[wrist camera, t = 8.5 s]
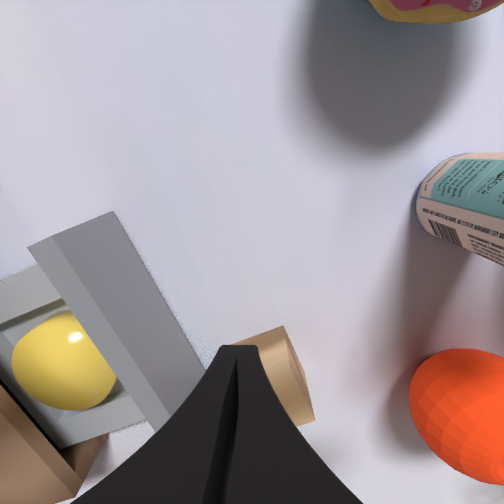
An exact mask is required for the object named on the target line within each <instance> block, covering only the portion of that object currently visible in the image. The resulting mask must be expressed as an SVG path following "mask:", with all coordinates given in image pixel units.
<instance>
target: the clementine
mask: <svg viewBox="0 0 504 504" xmlns="http://www.w3.org/2000/svg"><path fill="white" fill-rule="evenodd" d="M409 402H410V411H411V415H412V418H413V420H414V422H415V425H416V427H417V429H418V431H419V433H420V435H421V437H422V438H423V440H424V441H425V442H426V443H427V445H428V446H429V447H430V449H431V450H432V451H433V452H434V453H435V454H436V455H437V456H438V457H439V458H441V459H442V460H443V461H444V462H446V463H447V464H448V465H449V466H451V467H452V468H453V469H455V470H457V471H459V472H461V473H463V474H465V475H467V476H469V477H471V478H474V479H476V480H478V481H480V482H485V483H489V484H497V485H504V358H502V357H500V356H498V355H494V354H491V353H488V352H485V351H481V350H477V349H450V350H445V351H441V352H439V353H436V354H434V355H432V356H431V357H429V358H428V359H426V360H425V361H424V362H423V363H422V364H421V365H420V366H419V367H418V368H417V370H416V372H415V374H414V376H413V378H412V381H411V384H410V389H409Z"/></svg>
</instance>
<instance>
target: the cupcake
mask: <svg viewBox="0 0 504 504" xmlns="http://www.w3.org/2000/svg"><path fill="white" fill-rule="evenodd" d="M368 1H369V2H370V3H371V4H372V6H373V7H374V8H375V10H376V11H377V12H378V13H379V14H380V15H381V16H382V17H383V18H385V19H387V20H389V21H393V22H410V23H420V24H441V23H453V22H459V21H463V20H467V19H470V18H473V17H476V16H479V15H481V14H483V13H486V12H488V11H490V10H492V9H493V8H495V7H497V6H499V5H501V4H502V3H504V0H368Z"/></svg>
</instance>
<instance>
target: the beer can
mask: <svg viewBox="0 0 504 504" xmlns="http://www.w3.org/2000/svg"><path fill="white" fill-rule="evenodd" d="M416 212H417V216H418V219H419V221H420V223H421V225H422V226H423V228H424V229H425V230H426V231H427V232H428V233H430V234H431V235H433V236H435V237H437V238H440V239H443V240H447V241H450V242H452V243H454V244H456V245H458V246H461V247H463V248H465V249H467V250H469V251H472V252H474V253H476V254H478V255H480V256H483V257H485V258H487V259H489V260H491V261H494V262H496V263H498V264H500V265H503V266H504V153H464V154H459V155H455V156H453V157H450V158H448V159H446V160H444V161H443V162H441V163H439V164H438V165H437V166H436V167H435V168H434V169H433V170H432V171H431V172H430V173H429V174H428V175H427V176H426V178H425V179H424V181H423V183H422V184H421V186H420V189H419V192H418V194H417V200H416Z"/></svg>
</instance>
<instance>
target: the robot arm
mask: <svg viewBox="0 0 504 504" xmlns="http://www.w3.org/2000/svg"><path fill="white" fill-rule="evenodd" d="M230 481H231V482H230ZM70 504H363V503H362V502H361V501H360V500H359V499H358V498H357V497H356V496H355V495H354V494H353V493H352V492H351V491H350V490H349V489H348V488H347V487H346V486H345V485H344V484H343V483H342V482H341V481H340V480H339V478H338V477H337V476H336V475H335V474H334V473H333V472H332V471H331V470H330V469H329V468H328V466H327V465H326V464H325V463H324V462H323V460H322V459H321V458H320V457H319V456H318V454H317V453H316V452H315V451H314V450H313V448H312V447H311V446H310V445H309V444H308V442H307V441H306V440H305V438H304V437H303V436H302V434H301V433H300V431H299V430H298V429H297V427H296V426H295V424H294V423H293V421H292V420H291V418H290V417H289V415H288V414H287V412H286V411H285V409H284V407H283V406H282V404H281V402H280V400H279V399H278V397H277V395H276V393H275V391H274V389H273V387H272V385H271V383H270V381H269V379H268V377H267V375H266V372H265V370H264V367H263V364H262V362H261V359H260V355H259V350H258V347H257V346H256V345H222V346H221V347H220V348H219V350H218V352H217V354H216V355H215V357H214V359H213V361H212V362H211V364H210V366H209V367H208V369H207V370H206V372H205V373H204V375H203V376H202V378H201V379H200V381H199V382H198V384H197V385H196V386H195V388H194V389H193V390H192V392H191V393H190V394H189V396H188V397H187V398H186V399H185V401H184V402H183V403H182V405H181V406H180V407H179V408H178V409H177V410H176V412H175V413H174V414H173V415H172V416H171V417H170V418H169V420H168V421H167V422H166V423H165V424H164V425H163V426H162V427H161V428H160V429H159V430H158V431H157V432H156V433H155V434H154V435H153V436H152V437H151V438H150V439H149V440H148V441H147V442H146V443H145V444H144V445H143V446H142V447H141V448H140V449H139V450H137V451H136V452H135V453H134V454H133V455H132V456H131V457H129V458H128V459H127V460H126V461H125V462H123V463H122V464H121V465H120V466H119V467H118V468H116V469H115V470H114V471H113V472H112V473H110V474H109V475H108V476H107V477H105V478H104V479H103V480H102V481H100V482H99V483H98V484H96V485H95V486H94V487H92V488H91V489H90V490H88V491H87V492H85V493H84V494H83V495H81V496H80V497H78V498H77V499H76V500H74V501H73V502H71V503H70Z"/></svg>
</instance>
